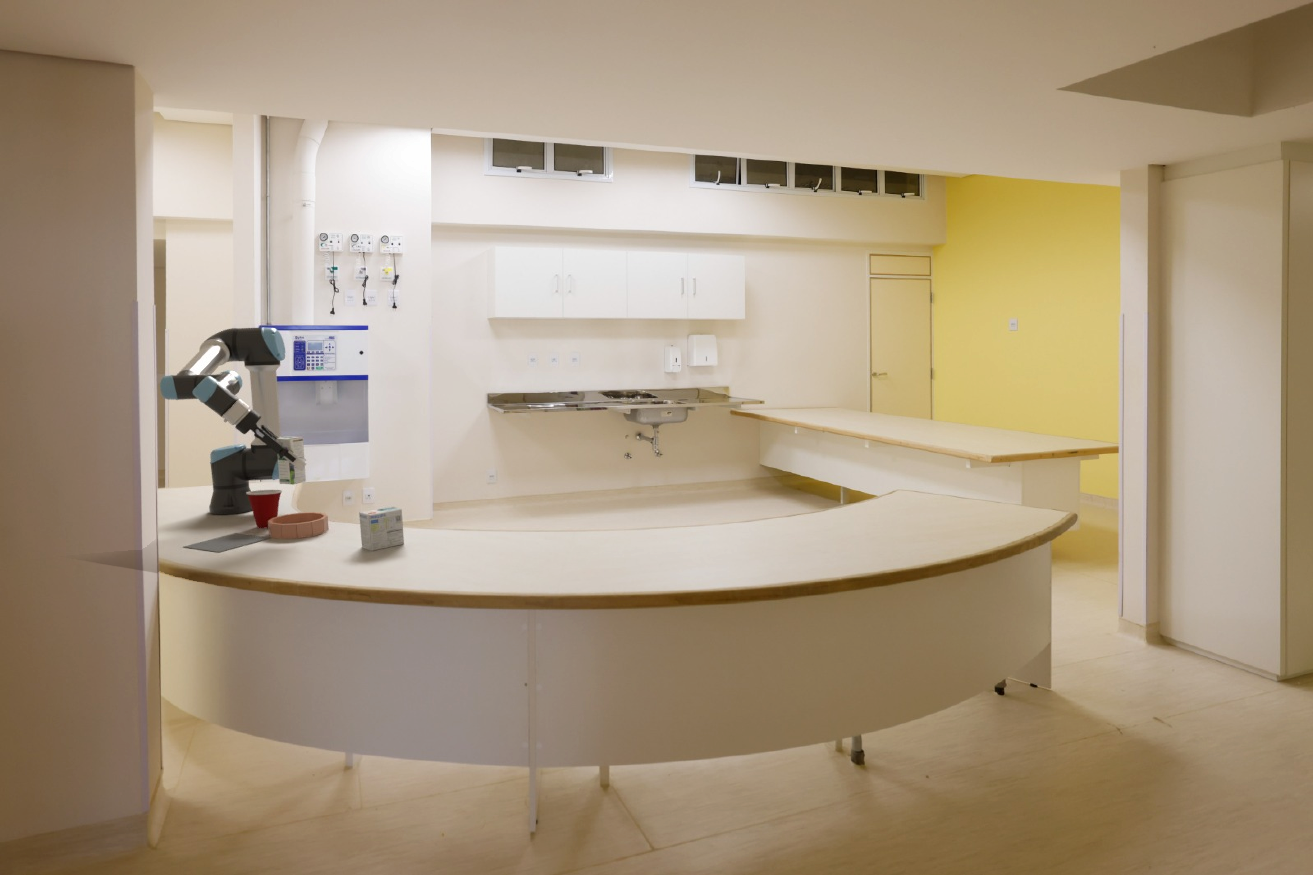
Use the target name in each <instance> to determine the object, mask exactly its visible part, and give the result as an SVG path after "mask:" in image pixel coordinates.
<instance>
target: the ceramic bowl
mask: <svg viewBox="0 0 1313 875" xmlns="http://www.w3.org/2000/svg"><path fill="white" fill-rule="evenodd" d="M267 529H268V535H269V537H271V539H272V538H273V539H279V540H287V539H288V540H290V539H303V538H310V537H314V536H318V535H321V534H324V533H326V532H327V531H329V530H330V529H329V516H328V515H327V514H326V513H324V512H315V511H310V512H309V511H308V512H307V511H306V512H305V511H304V512H297V513H296V512H294V513H289V514H288V513H287V514H283V515H279V516H278V515H277V517H274V518H272V519H270V520H268V528H267Z"/></svg>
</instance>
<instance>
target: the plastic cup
mask: <svg viewBox="0 0 1313 875" xmlns="http://www.w3.org/2000/svg"><path fill="white" fill-rule="evenodd" d="M282 492H283V490H282V489H260V490H259V489H257V490H251V491H250V492H246V494H247V495H248V497H249V500H250V503H251V507H252V510H251V511H252V514H253V515H252V516H253V518H254V520H255V524H256V528H258V529H269V528H268V520H270V519H272V518H274V517H278V515H279V514H278V513H279V505H280V504H279V503H280V497H281V494H282Z"/></svg>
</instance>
